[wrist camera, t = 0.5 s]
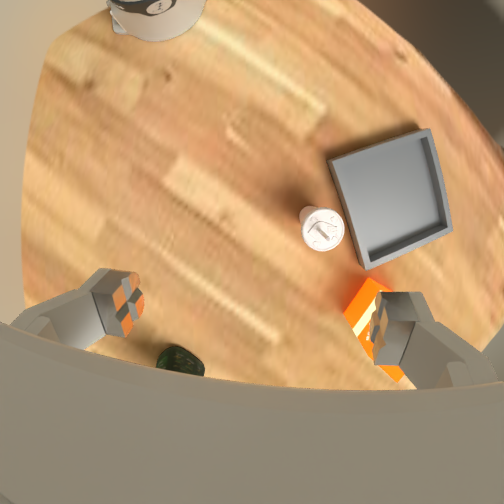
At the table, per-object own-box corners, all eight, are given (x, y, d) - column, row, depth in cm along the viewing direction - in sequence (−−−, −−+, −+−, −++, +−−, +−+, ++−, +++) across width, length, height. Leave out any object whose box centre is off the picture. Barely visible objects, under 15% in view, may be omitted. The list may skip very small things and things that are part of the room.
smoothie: (289, 200, 53) (306, 217, 40) (325, 195, 53) (353, 211, 40) (293, 236, 55) (310, 265, 42) (328, 231, 55) (356, 258, 42)
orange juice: (395, 292, 60) (446, 346, 41) (370, 327, 62) (411, 388, 43) (367, 276, 58) (416, 330, 39) (342, 313, 60) (379, 377, 41)
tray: (326, 160, 51) (332, 161, 48) (420, 128, 50) (430, 128, 46) (359, 264, 57) (366, 271, 54) (443, 226, 56) (453, 230, 52)
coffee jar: (152, 360, 62) (131, 423, 44) (174, 339, 61) (155, 403, 43) (188, 385, 64) (177, 450, 47) (211, 365, 63) (205, 433, 45)
